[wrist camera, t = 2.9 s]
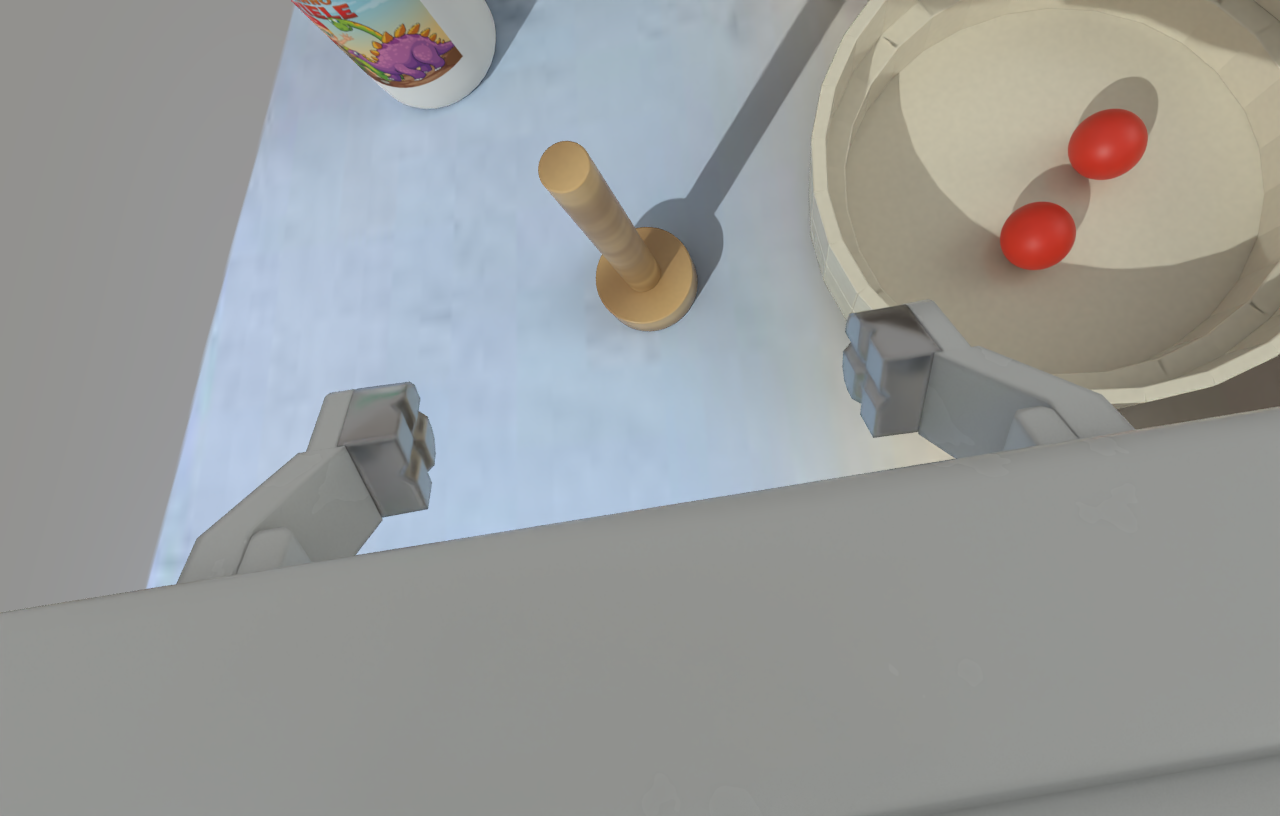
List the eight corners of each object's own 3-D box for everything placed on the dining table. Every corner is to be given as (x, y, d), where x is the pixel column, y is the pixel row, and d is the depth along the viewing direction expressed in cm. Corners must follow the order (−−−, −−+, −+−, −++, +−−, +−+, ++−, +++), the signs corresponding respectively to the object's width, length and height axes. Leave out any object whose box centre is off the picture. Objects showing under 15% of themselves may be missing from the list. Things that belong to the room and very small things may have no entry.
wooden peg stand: (716, 272, 38) (668, 142, 23) (659, 350, 38) (576, 269, 23) (642, 221, 39) (551, 66, 24) (587, 296, 39) (464, 188, 24)
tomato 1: (1075, 237, 34) (1102, 214, 31) (1035, 290, 34) (1058, 272, 31) (1017, 203, 34) (1038, 178, 31) (978, 255, 34) (996, 234, 31)
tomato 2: (1143, 149, 33) (1177, 117, 30) (1102, 202, 34) (1132, 176, 31) (1083, 116, 34) (1111, 82, 31) (1044, 169, 34) (1067, 140, 31)
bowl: (1399, 128, 32) (1548, 42, 26) (1099, 510, 33) (1172, 518, 27) (977, -83, 37) (1015, -200, 30) (725, 257, 38) (712, 212, 31)
